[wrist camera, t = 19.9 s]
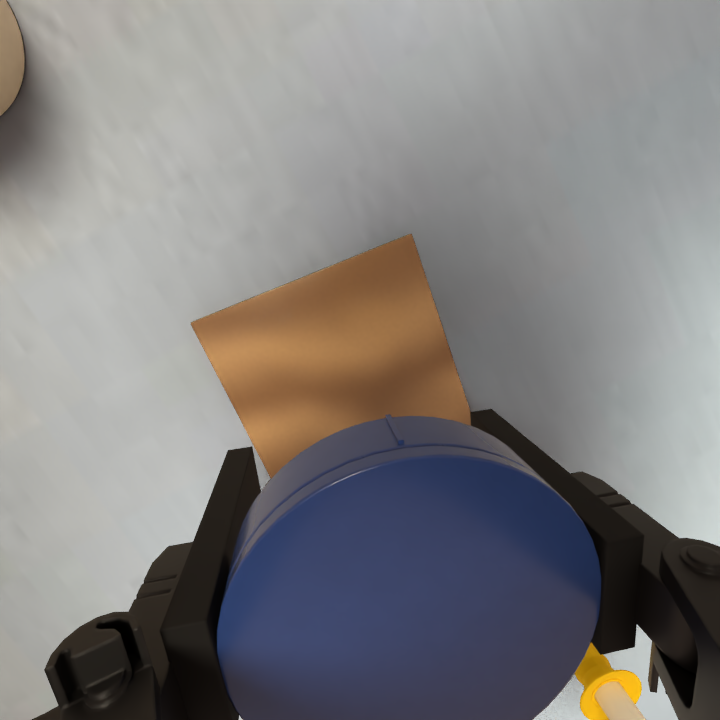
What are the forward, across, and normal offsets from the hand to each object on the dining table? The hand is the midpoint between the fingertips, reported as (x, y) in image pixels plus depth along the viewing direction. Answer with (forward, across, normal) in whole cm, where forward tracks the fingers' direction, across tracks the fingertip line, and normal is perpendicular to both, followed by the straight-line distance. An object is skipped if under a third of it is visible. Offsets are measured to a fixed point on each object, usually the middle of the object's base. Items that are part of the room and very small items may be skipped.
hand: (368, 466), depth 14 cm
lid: (-6, 0, 0) cm, 6 cm away
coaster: (+9, 0, 0) cm, 9 cm away
